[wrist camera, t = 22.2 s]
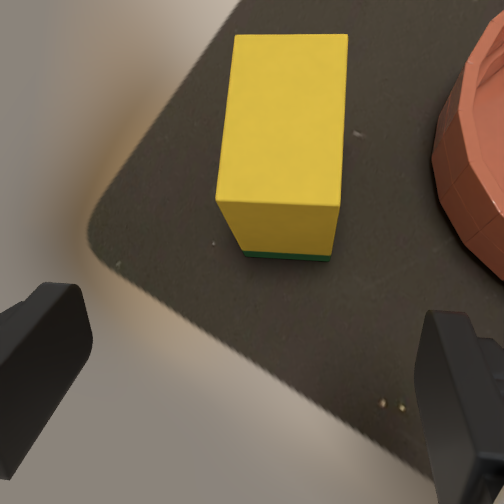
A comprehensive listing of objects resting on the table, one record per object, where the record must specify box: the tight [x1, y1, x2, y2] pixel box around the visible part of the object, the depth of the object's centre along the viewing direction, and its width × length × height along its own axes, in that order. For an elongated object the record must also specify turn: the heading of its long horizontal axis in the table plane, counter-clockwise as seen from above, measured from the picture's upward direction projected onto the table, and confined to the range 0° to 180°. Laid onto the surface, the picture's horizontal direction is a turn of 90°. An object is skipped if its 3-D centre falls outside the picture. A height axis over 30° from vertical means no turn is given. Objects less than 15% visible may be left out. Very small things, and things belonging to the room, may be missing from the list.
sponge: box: [215, 34, 348, 261], centre depth 21 cm, size 4×7×8 cm, turn 175°
